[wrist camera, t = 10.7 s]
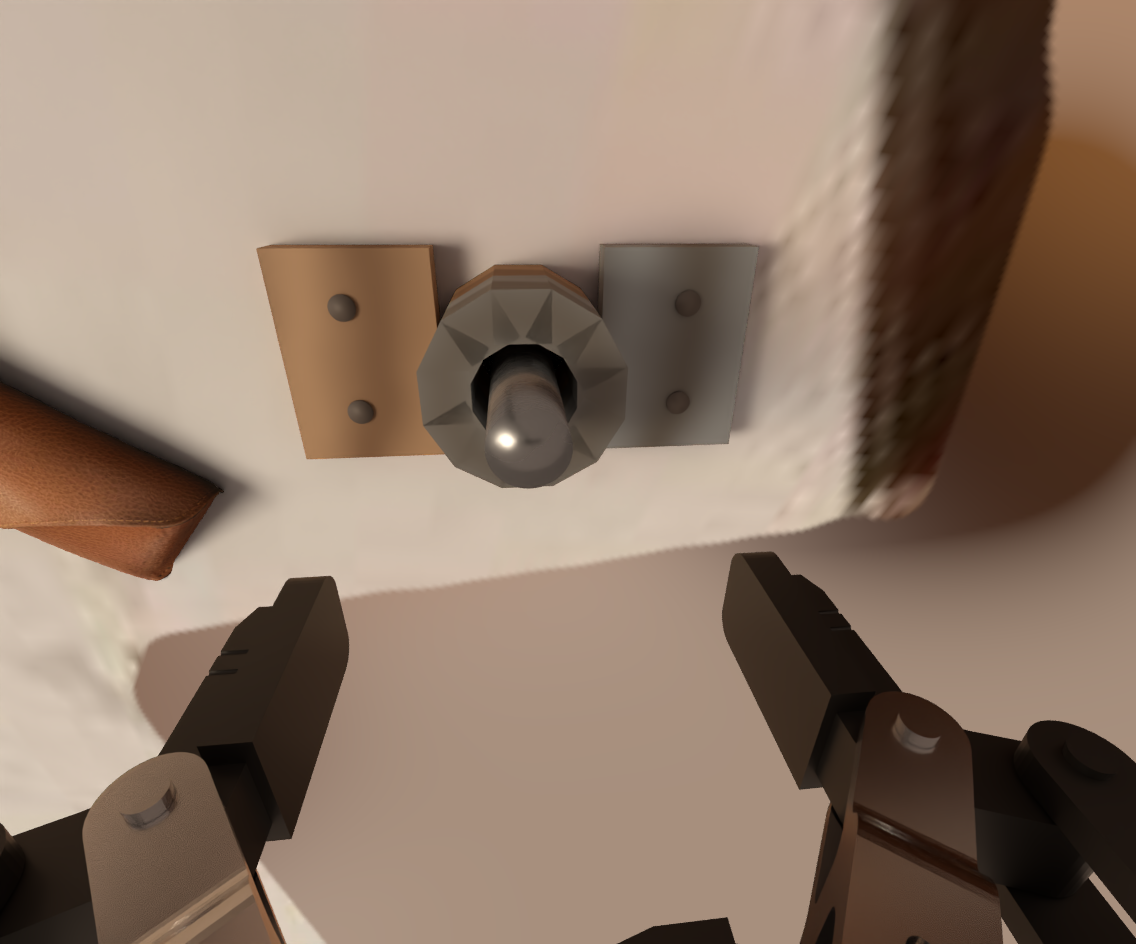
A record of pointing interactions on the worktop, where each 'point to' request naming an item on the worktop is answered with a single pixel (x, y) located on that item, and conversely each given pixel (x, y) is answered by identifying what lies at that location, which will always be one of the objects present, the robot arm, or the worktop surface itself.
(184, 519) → the sunglasses case
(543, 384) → the hinge pin
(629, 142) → the worktop surface
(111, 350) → the worktop surface
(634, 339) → the hinge leaves
